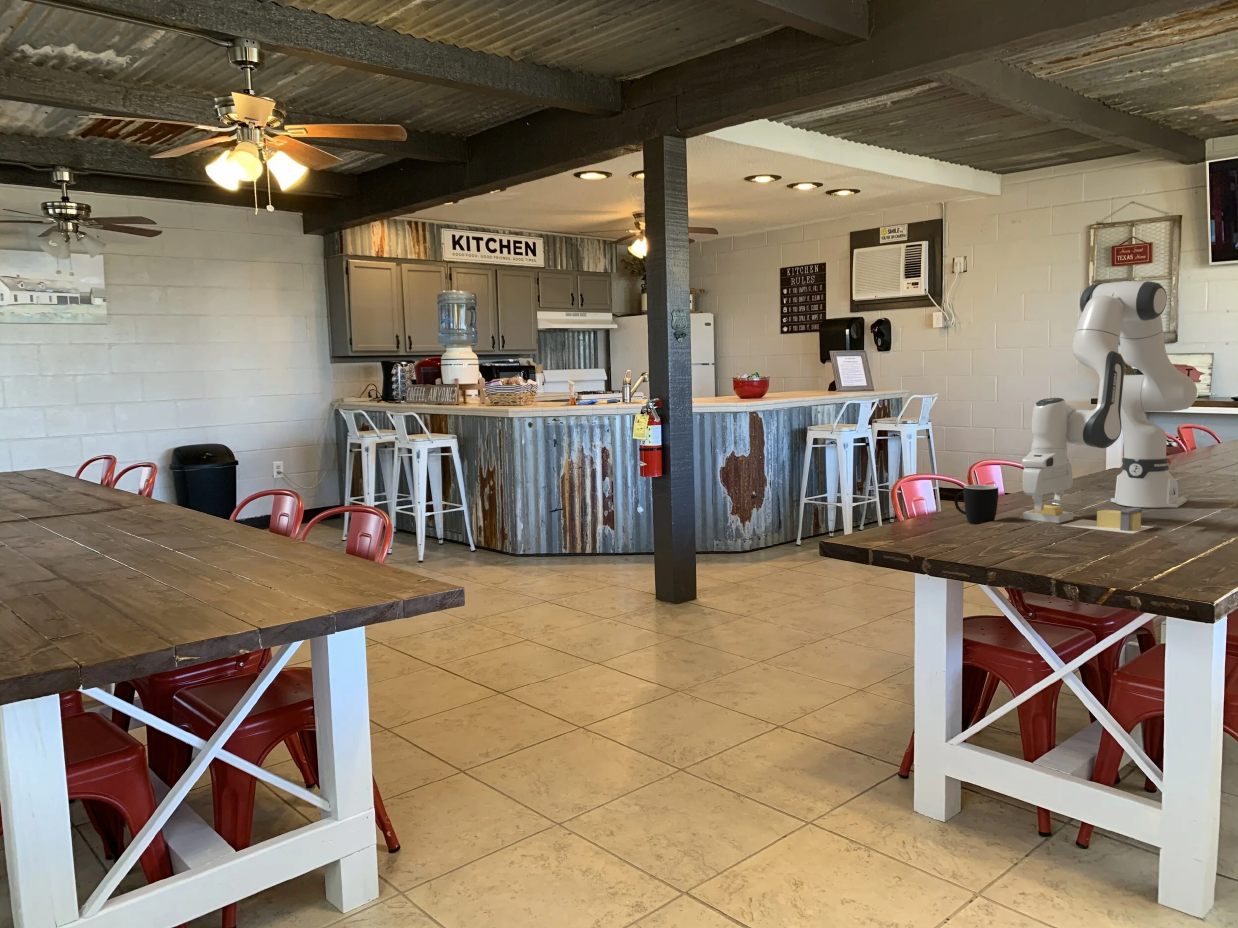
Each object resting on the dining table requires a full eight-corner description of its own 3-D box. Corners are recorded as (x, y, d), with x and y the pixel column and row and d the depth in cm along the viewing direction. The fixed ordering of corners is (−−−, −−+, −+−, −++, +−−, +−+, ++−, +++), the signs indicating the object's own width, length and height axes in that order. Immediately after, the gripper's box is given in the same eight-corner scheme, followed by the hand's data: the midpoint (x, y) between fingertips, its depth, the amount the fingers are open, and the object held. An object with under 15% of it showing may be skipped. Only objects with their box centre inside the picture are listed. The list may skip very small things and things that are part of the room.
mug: (1003, 522, 255) (1004, 486, 254) (989, 526, 249) (989, 489, 248) (962, 518, 264) (962, 483, 262) (947, 522, 257) (947, 486, 256)
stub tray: (1037, 519, 257) (1037, 508, 257) (1073, 523, 249) (1073, 512, 249) (1022, 522, 252) (1022, 512, 252) (1058, 527, 245) (1058, 516, 244)
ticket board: (1082, 523, 248) (1082, 501, 248) (1153, 531, 234) (1154, 507, 234) (1060, 529, 241) (1060, 506, 241) (1132, 538, 227) (1132, 513, 226)
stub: (1041, 518, 254) (1041, 504, 254) (1062, 521, 250) (1062, 506, 249) (1033, 520, 252) (1033, 506, 252) (1055, 523, 247) (1055, 508, 247)
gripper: (1056, 454, 258) (1055, 502, 259) (1018, 460, 245) (1017, 511, 247) (1079, 455, 253) (1078, 504, 254) (1041, 462, 240) (1040, 514, 242)
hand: (1048, 508), depth 251 cm, fingers open, 8 cm apart
